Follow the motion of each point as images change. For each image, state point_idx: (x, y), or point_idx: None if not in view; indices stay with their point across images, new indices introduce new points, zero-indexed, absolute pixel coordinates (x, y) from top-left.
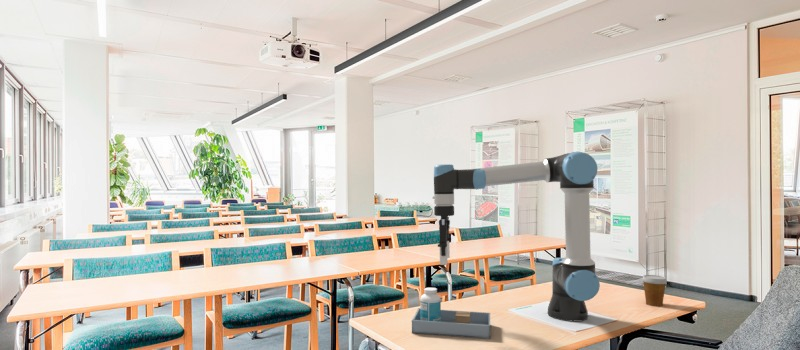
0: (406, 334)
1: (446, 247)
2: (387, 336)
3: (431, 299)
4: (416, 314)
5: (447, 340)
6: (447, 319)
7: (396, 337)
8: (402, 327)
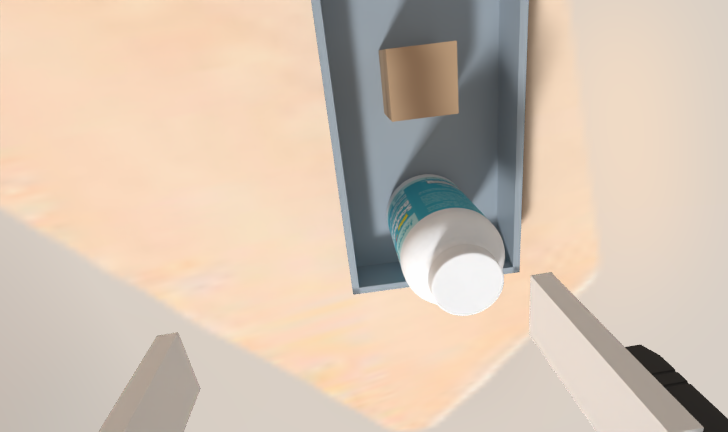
0: None
1: (692, 426)
2: None
3: (502, 247)
4: None
5: (550, 114)
6: (343, 162)
7: None
8: None
